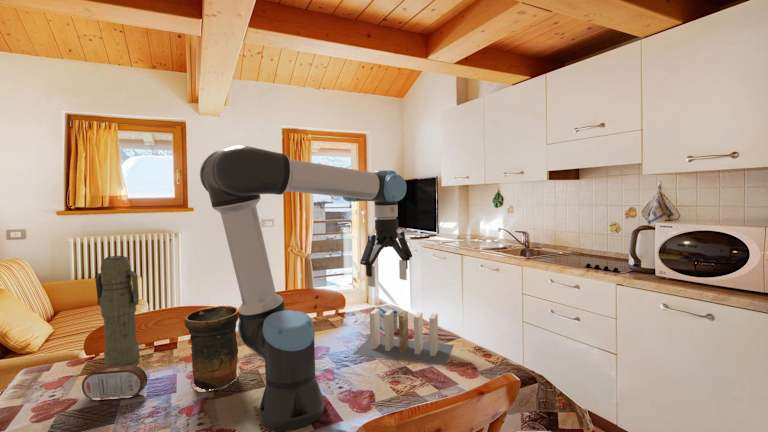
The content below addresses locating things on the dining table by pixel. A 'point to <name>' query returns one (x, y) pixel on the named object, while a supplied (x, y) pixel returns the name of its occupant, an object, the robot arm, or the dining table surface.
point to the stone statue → (118, 310)
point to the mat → (406, 352)
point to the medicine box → (382, 311)
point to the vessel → (213, 346)
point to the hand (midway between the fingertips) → (387, 282)
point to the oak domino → (403, 331)
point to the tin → (114, 382)
